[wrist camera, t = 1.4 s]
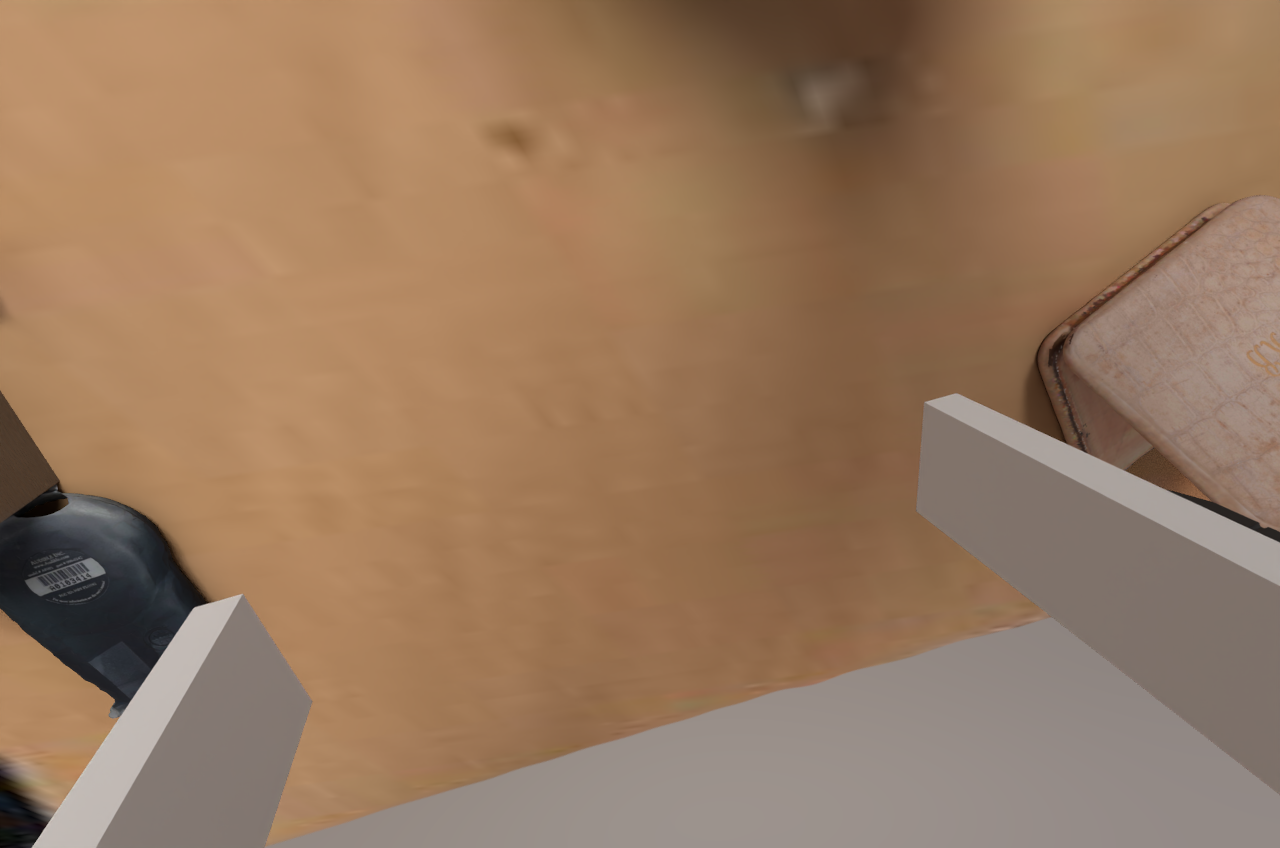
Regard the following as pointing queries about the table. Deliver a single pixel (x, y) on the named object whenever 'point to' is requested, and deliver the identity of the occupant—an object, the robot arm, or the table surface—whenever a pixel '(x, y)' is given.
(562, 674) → the table surface
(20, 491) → the grey block with knob
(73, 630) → the electronic device
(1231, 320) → the case
